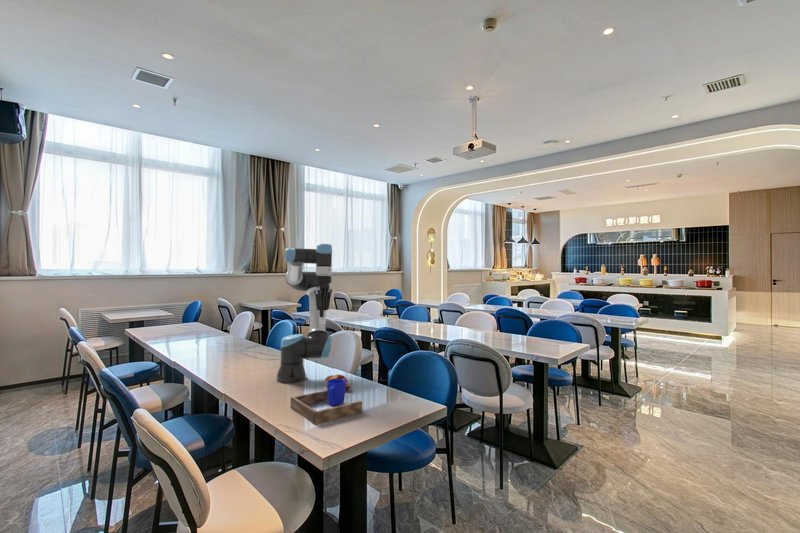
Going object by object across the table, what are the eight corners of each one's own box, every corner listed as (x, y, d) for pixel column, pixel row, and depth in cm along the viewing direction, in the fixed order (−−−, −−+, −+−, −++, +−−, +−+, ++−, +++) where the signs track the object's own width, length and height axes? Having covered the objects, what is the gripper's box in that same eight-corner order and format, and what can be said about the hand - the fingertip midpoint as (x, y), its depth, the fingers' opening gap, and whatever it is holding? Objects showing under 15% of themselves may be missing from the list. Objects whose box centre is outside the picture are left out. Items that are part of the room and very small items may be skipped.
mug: (320, 409, 158) (321, 385, 159) (330, 400, 170) (330, 378, 171) (339, 411, 157) (340, 386, 157) (347, 401, 169) (348, 379, 169)
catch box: (335, 398, 173) (335, 388, 174) (362, 412, 156) (362, 401, 156) (290, 407, 160) (290, 397, 160) (314, 424, 143) (315, 412, 143)
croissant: (321, 390, 196) (314, 377, 194) (335, 378, 203) (329, 365, 200) (344, 399, 181) (338, 386, 179) (359, 386, 187) (353, 373, 185)
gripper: (323, 275, 179) (321, 325, 178) (337, 275, 191) (336, 322, 191) (309, 275, 182) (308, 324, 181) (324, 275, 194) (323, 321, 193)
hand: (322, 323), depth 186 cm, fingers closed
